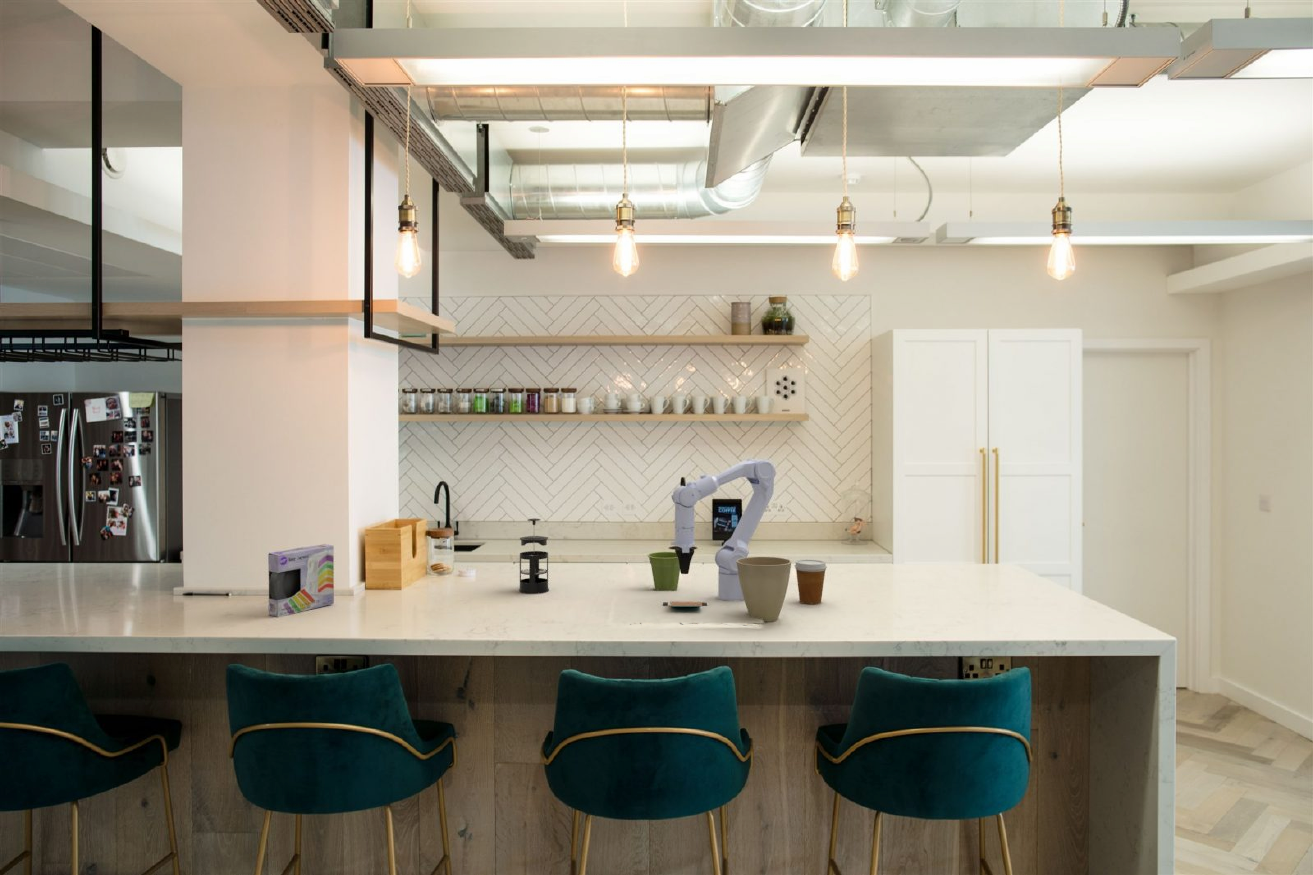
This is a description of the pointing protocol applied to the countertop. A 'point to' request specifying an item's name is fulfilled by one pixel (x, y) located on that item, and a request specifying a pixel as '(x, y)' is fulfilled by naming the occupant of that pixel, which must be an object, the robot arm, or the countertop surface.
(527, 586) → the french press
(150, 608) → the countertop surface
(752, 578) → the plant pot
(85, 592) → the countertop surface
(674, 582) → the plant pot
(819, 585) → the disposable coffee cup
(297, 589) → the cake pan box
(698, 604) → the tile
